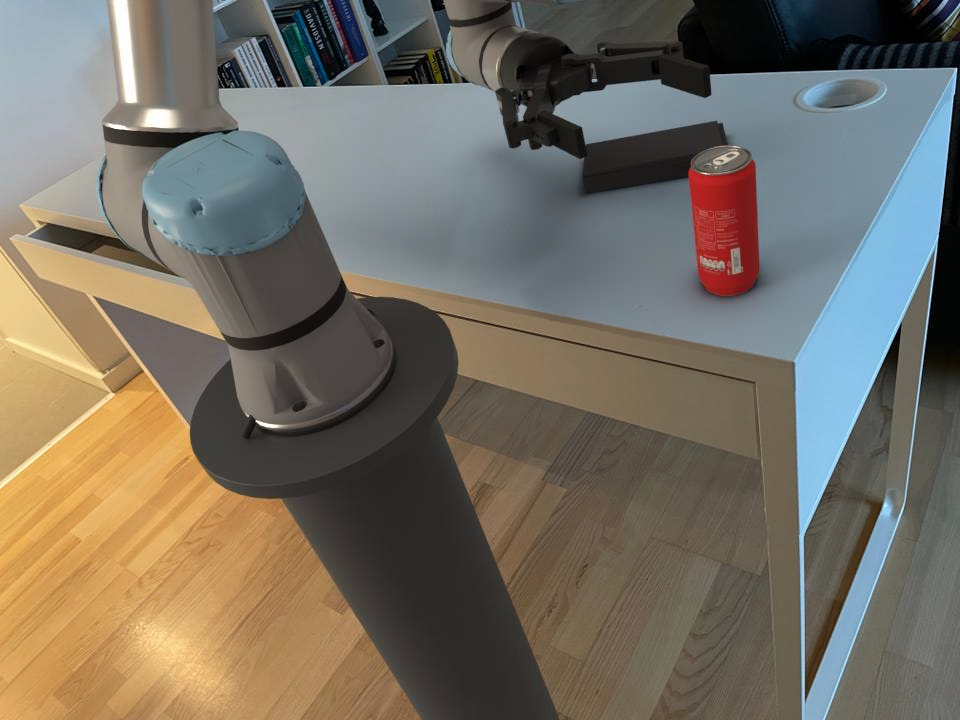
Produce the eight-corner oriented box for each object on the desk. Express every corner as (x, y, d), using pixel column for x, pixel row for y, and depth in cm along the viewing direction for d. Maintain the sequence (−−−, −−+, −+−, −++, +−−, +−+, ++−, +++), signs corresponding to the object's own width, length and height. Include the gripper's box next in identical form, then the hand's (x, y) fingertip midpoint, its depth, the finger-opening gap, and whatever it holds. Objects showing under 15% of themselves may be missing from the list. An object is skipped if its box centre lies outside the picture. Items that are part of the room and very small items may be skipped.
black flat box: (723, 138, 90) (722, 118, 88) (730, 170, 84) (729, 148, 82) (587, 162, 94) (584, 143, 92) (585, 193, 88) (581, 174, 86)
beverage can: (687, 282, 70) (674, 163, 63) (732, 258, 71) (724, 138, 64) (726, 306, 66) (716, 182, 59) (773, 280, 67) (769, 154, 60)
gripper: (628, 58, 89) (758, 97, 73) (440, 146, 84) (535, 208, 68) (618, -9, 84) (755, 16, 68) (419, 79, 79) (515, 129, 63)
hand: (645, 112), depth 68 cm, fingers open, 13 cm apart
